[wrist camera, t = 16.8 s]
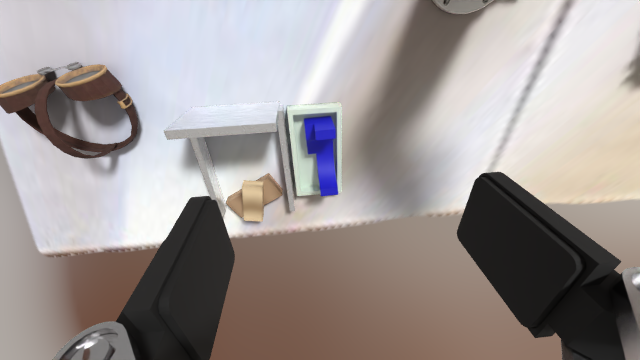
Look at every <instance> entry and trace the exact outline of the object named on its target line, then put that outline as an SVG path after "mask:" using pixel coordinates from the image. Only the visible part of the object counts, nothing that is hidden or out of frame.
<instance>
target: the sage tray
mask: <svg viewBox="0 0 640 360" xmlns="http://www.w3.org/2000/svg"><path fill="white" fill-rule="evenodd" d="M287 114H288V123H289V131H290V140H291V149H292V157H293V166H294V174H295V183H296V191H297V196H304V195H315V194H321V193H320V186H319V179H318V169H317V158H316V154H308V152H307V143H306V134H305V125H304V118H313V117H323V116H331V118H332V121H333V124H334V126H335V129H336V139H333V155H334V166H335V174H336V181H337V186H338V193H339V192H342V106H341V104H340V102H335V103H320V104H305V105H290V106H287Z"/></svg>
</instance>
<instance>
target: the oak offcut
mask: <svg viewBox="0 0 640 360" xmlns="http://www.w3.org/2000/svg"><path fill="white" fill-rule="evenodd" d="M242 196H243V213H244V221H263V215H264V182H263V181H246V180H244V182H243V185H242Z"/></svg>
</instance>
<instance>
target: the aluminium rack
mask: <svg viewBox="0 0 640 360" xmlns="http://www.w3.org/2000/svg"><path fill="white" fill-rule="evenodd" d="M277 126H278V131H279V138H280V145H281V152H282V159H283V166H284V173H285V180H286V187H287V194H288V201H289V208H290V211H295V197H294V189H293V181H292V173H291V165H290V157H289V149H288V141H287V133H286V125H285V117H284V108H283V105H280V101H276V102H261V103H246V104H231V105H216V106H201V107H191V108H190V109H189V110H187V111H186V112H185V113H184V114H183V115H182V116H180V117H179V118H178V119H177V120H176V121H175V122H173V123H172V124H171V125H170V126H169V127H168V128H166V129H165V130H164V133H165V135H166V138H167V140H169V139H183V138H190V141H191V143H192V146H193V149H194V152H195V155H196V158H197V160H198V163H199V166H200V169H201V172H202V175H203V177H204V180H205V183H206V186H207V189H208V192H209V194H210V197H211V199H212V200H216V201H217V203H218V206H219V209H220V212H221V215H222V217H223V216H224V213H225V210H226V204H225V201H224V198H223V195H222V192H221V189H220V185H219V182H218V179H217V176H216V173H215V170H214V167H213V163H212V160H211V157H210V154H209V151H208V148H207V145H206V141H205V138H204V137H211V136H225V135H239V134H252V133H266V132H277Z"/></svg>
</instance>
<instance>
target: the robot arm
mask: <svg viewBox="0 0 640 360" xmlns="http://www.w3.org/2000/svg"><path fill="white" fill-rule="evenodd" d="M432 1H433V2H434V3H435V4H436V5H437V6H438V7H439V8H440V9H442V10H443V11H445V12H448V13H451V14H467V13H471V12H475V11H477V10H479V9H481V8H483V7H485V6H486V5H488V4H489V3H490V2H492V1H493V0H483V1H482V0H445V3H444V4H443V1H444V0H432ZM457 236H458V239H459V241H460V242H461V244H462V245H463V246H464V248H465V249H466V250H467V252H468V253H469V254H470V256H471V257H472V258H473V260H474V261H475V262H476V264H477V265H478V267H479V268H480V269H481V271H482V272H483V273H484V275H485V276H486V277H487V279H488V280H489V281H490V283H491V284H492V286H493V287H494V288H495V290H496V291H497V292H498V294H499V295H500V296H501V298H502V299H503V300H504V302H505V303H506V305H507V306H508V307H509V309H510V310H511V311H512V313H513V314H514V315H515V317H516V318H517V319H518V321H519V322H520V323H521V324H522V325H523V326H525V327H527V328H528V329H529V331H530V332H531V333H532V335H533V336H534V337H535V338H538V337H548V336H552V335H553V334H554V333H555V332H556V333H557V335H558V336H559V337H560V338H561V347H562V360H640V268H638V267H633V268H627V269H625V270H624V271H623V272H622V273H621V274H619V273H617V272H616V271H615V270H614V269H615V268H616V267H617V266H618V265H619V264H620V263H621V261H620V260H619V259H617V258H616V257H615V256H613V255H612V254H611V253H609V252H608V251H607V250H605V249H604V248H603V247H601V246H600V245H598V244H597V243H596V242H595V241H593V240H592V239H591V238H589V237H588V236H587V235H585V234H584V233H582V232H581V231H580V230H578V229H577V228H576V227H575V226H573V225H572V224H570V223H569V222H568V221H566V220H565V219H564V218H562V217H561V216H560V215H558V214H557V213H556V212H554V211H553V210H552V209H550V208H549V207H548V206H546V205H545V204H544V203H542V202H541V201H540V200H538V199H537V198H536V197H534V196H533V195H532V194H530V193H529V192H528V191H526V190H525V189H524V188H522V187H521V186H520V185H518V184H517V183H516V182H514V181H513V180H512V179H510V178H509V177H508V176H506V175H505V174H503V173H501V172H491V173H483V174H481V175H480V176H479V178H477V179H476V180H475V182H474V185H473V188H472V190H471V193H470V196H469V199H468V202H467V205H466V207H465V210H464V213H463V216H462V219H461V222H460V224H459V227H458V230H457ZM234 257H235V256H234V250H233V247H232V244H231V242H230V238H229V235H228V233H227V230H226V227H225V224H224V221H223V218H222V215H221V212H220V209H219V206H218V203H217V201H216V200H212V199H211V198H210V197H209V196H202V197H192V198H190V199H189V201H188V203H187V204H186V206H185V208H184V209H183V211H182V213H181V214H180V216H179V218H178V220H177V221H176V223H175V225H174V226H173V228H172V230H171V232H170V233H169V235H168V237H167V238H166V239H165V240H164V242H163V243H162V244H161V246H160V248H159V250H158V251H157V253H156V255H155V257H154V258H153V260H152V261H151V263H150V265H149V267H148V268H147V270H146V272H145V273H144V275H143V277H142V278H141V280H140V282H139V284H138V285H137V287H136V289H135V290H134V292H133V294H132V295H131V297H130V299H129V300H128V302H127V304H126V305H125V307H124V309H123V310H122V312H121V314H120V316H119V317H118V319H117V321H116V322H104V323H100V324H97V325H94V326H92V327H90V328H88V329H86V330H84V331H83V332H81V333H80V334H78V335H77V336H75V337H74V338H73V339H71V340H70V341H69V342H68V343H67V344H66V345H65V346H64V347H63V348H62V349H61V350H60V351H59V352H58V353H57V354H56V356H55V357H54V359H53V360H209V359H210V356H211V352H212V348H213V344H214V340H215V336H216V332H217V328H218V324H219V320H220V316H221V312H222V308H223V304H224V300H225V296H226V292H227V288H228V284H229V280H230V276H231V272H232V268H233V264H234Z"/></svg>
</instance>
